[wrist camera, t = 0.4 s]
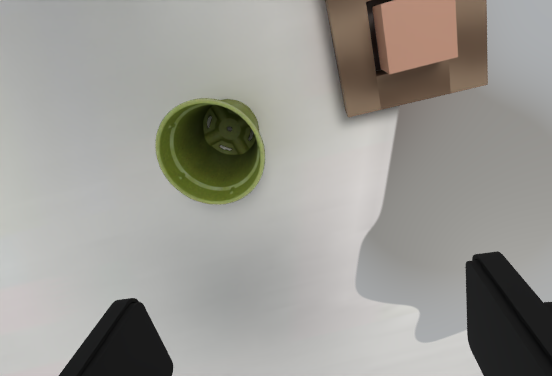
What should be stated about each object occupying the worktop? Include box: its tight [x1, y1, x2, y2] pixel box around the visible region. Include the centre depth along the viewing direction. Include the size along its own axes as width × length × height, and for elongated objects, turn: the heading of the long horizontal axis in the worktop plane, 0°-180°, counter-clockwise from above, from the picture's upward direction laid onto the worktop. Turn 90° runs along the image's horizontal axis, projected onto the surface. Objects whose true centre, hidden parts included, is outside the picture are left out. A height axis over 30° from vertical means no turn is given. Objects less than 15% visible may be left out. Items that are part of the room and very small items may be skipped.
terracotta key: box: [372, 0, 458, 74], centre depth 27 cm, size 5×5×4 cm
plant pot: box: [156, 98, 265, 204], centre depth 32 cm, size 9×9×9 cm
